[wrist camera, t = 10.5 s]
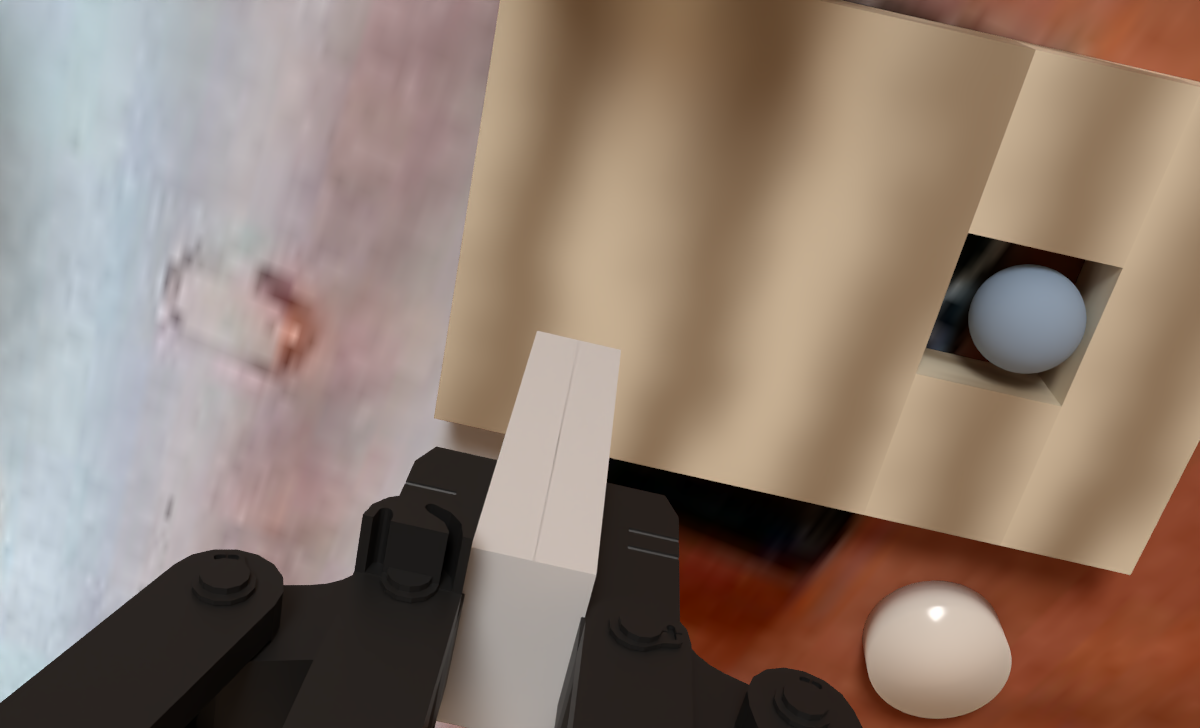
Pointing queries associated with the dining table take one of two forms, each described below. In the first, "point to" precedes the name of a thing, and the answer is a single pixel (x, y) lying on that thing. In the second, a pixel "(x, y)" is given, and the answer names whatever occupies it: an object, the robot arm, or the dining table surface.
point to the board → (838, 258)
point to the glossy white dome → (936, 650)
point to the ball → (1027, 318)
